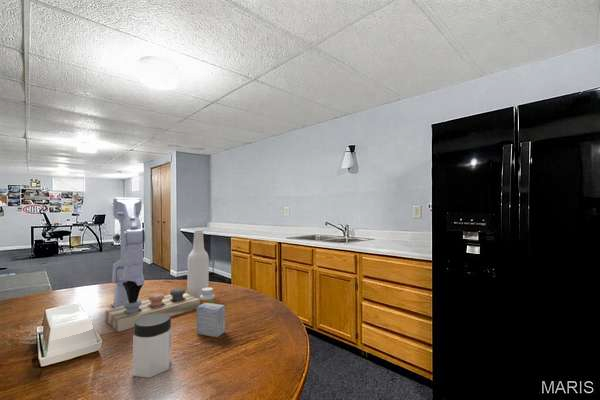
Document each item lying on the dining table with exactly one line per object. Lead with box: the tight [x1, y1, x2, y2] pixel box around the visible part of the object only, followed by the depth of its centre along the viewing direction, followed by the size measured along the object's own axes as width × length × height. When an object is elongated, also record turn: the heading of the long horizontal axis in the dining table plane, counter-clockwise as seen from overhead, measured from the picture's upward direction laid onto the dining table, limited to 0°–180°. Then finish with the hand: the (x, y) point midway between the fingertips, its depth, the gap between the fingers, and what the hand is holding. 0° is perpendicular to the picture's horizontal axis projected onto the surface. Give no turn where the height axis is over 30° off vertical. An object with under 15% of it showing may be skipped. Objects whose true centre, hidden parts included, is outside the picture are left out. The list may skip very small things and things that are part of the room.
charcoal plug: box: [169, 288, 186, 302], centre depth 110 cm, size 5×5×5 cm
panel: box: [105, 292, 200, 333], centre depth 104 cm, size 14×28×4 cm, turn 139°
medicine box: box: [196, 303, 226, 338], centre depth 88 cm, size 8×4×9 cm, turn 71°
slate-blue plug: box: [124, 299, 142, 315], centre depth 97 cm, size 5×5×5 cm
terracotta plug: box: [148, 292, 165, 308], centre depth 103 cm, size 5×5×5 cm
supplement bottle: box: [200, 286, 216, 305], centre depth 103 cm, size 5×5×10 cm
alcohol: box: [186, 228, 210, 299], centre depth 123 cm, size 9×9×30 cm
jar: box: [132, 314, 172, 379], centre depth 69 cm, size 9×8×12 cm
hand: (132, 302), depth 97 cm, fingers closed, pressing on slate-blue plug
